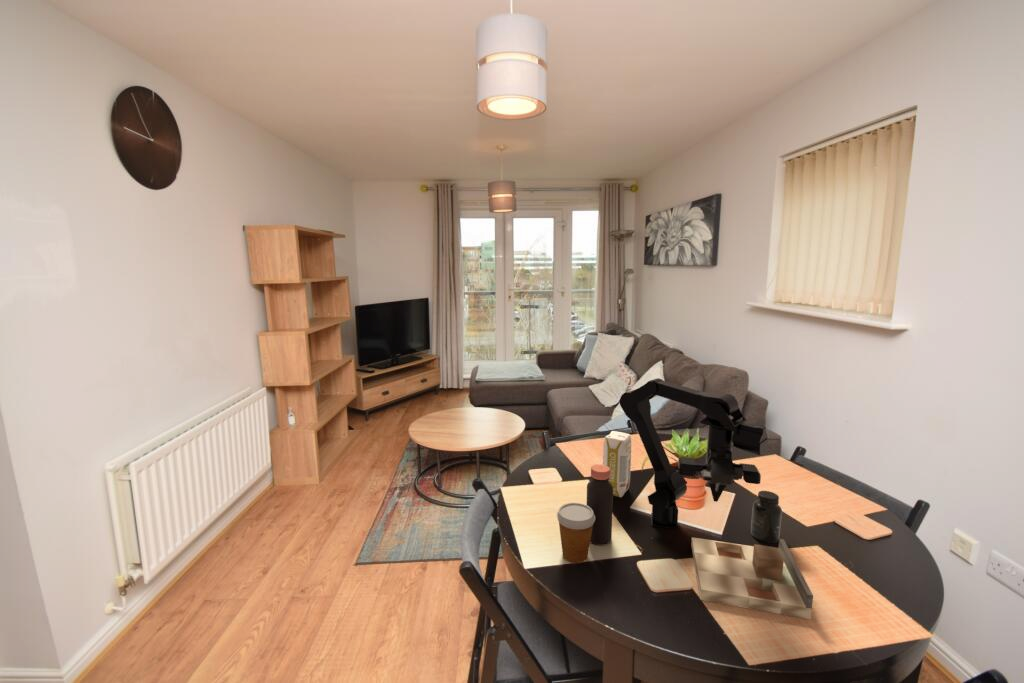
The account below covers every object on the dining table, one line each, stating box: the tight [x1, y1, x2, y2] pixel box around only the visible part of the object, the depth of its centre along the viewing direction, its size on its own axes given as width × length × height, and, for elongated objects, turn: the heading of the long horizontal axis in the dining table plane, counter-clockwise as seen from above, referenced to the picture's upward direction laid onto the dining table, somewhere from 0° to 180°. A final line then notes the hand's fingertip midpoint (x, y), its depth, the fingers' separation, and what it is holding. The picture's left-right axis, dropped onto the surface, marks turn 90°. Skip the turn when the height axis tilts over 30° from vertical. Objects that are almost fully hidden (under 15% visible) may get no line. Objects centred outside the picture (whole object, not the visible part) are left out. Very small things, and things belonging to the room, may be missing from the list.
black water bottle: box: [586, 463, 614, 546], centre depth 119 cm, size 7×7×20 cm
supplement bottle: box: [750, 490, 783, 544], centre depth 120 cm, size 7×7×12 cm
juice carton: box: [602, 430, 632, 498], centre depth 145 cm, size 8×9×19 cm
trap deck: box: [690, 537, 814, 620], centre depth 104 cm, size 21×20×6 cm
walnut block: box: [752, 543, 784, 582], centre depth 103 cm, size 5×5×5 cm
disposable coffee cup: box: [556, 502, 595, 564], centre depth 113 cm, size 10×10×12 cm
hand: (715, 500), depth 116 cm, fingers closed
